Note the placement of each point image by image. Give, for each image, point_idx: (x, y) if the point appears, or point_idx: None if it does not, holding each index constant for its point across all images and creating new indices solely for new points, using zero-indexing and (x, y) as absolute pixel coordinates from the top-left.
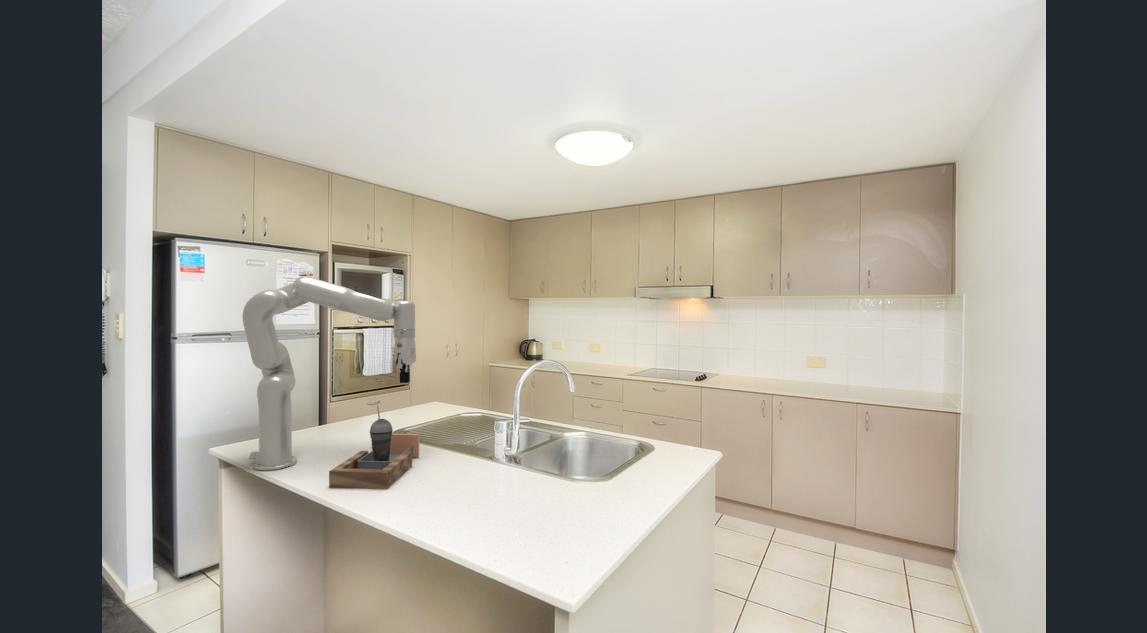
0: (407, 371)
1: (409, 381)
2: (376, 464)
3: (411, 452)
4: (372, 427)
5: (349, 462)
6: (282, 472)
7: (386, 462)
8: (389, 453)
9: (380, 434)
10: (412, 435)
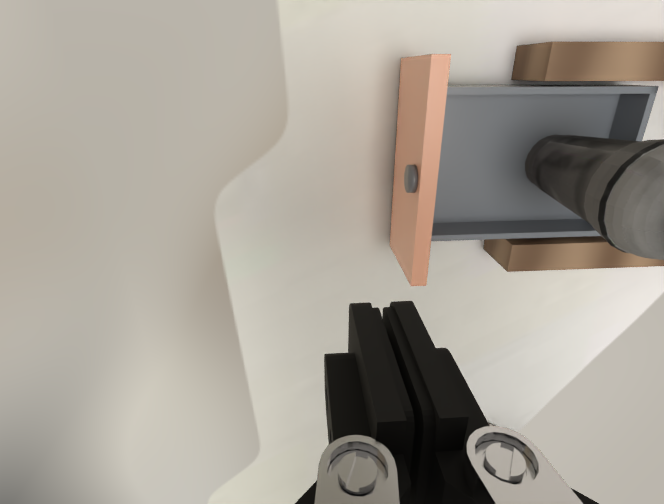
0: (475, 443)
1: (362, 304)
2: None
3: (559, 42)
4: None
5: None
6: (522, 411)
7: (647, 114)
8: (578, 138)
9: None
10: (446, 91)
